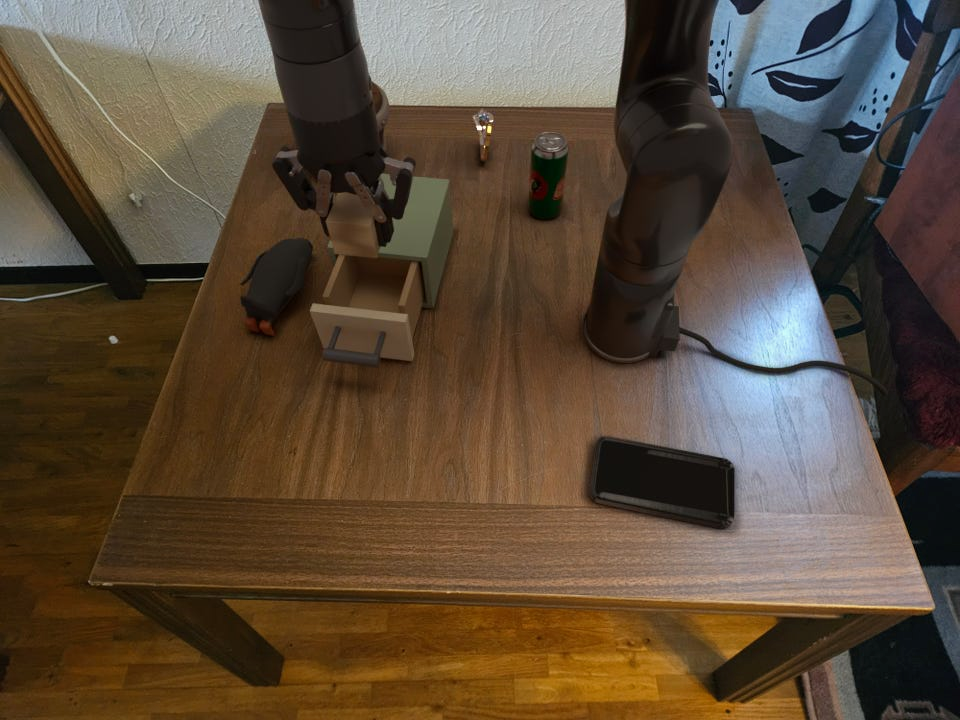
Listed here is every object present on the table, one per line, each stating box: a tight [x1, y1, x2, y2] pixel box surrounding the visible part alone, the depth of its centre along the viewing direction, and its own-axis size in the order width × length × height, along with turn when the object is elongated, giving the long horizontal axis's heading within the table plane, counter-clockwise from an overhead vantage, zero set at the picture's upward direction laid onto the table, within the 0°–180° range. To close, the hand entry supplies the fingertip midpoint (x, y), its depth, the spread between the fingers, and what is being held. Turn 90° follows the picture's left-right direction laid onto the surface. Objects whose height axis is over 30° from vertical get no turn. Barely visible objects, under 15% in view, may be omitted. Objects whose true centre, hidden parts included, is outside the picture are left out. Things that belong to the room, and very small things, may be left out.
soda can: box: [527, 131, 570, 220], centre depth 90 cm, size 5×5×12 cm
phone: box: [588, 435, 736, 530], centre depth 69 cm, size 8×1×15 cm
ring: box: [472, 108, 495, 162], centre depth 99 cm, size 7×3×8 cm, turn 178°
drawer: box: [309, 254, 425, 368], centre depth 78 cm, size 18×11×8 cm, turn 171°
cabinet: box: [326, 173, 454, 309], centre depth 85 cm, size 15×13×10 cm
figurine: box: [240, 237, 314, 337], centre depth 83 cm, size 7×10×15 cm
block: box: [326, 192, 380, 258], centre depth 66 cm, size 5×5×5 cm
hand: (361, 238), depth 68 cm, fingers closed on block, 4 cm apart
